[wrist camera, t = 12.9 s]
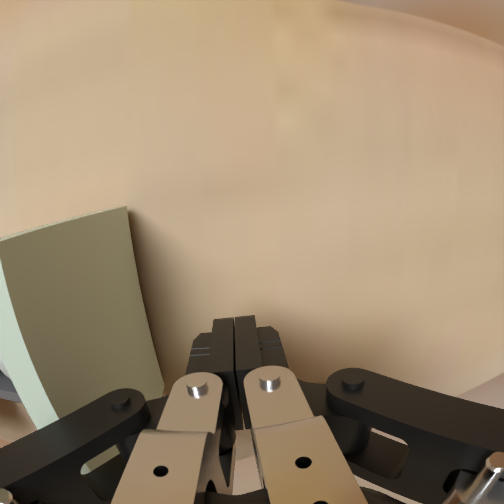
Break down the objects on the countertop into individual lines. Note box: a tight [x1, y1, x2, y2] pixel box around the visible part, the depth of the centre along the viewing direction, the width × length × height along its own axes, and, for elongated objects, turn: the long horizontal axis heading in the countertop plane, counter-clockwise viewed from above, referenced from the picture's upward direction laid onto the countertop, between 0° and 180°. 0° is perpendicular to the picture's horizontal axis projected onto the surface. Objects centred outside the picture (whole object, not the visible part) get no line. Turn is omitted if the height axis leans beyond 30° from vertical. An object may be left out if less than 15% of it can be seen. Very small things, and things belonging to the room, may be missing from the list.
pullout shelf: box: [0, 206, 165, 474], centre depth 10 cm, size 14×10×9 cm
